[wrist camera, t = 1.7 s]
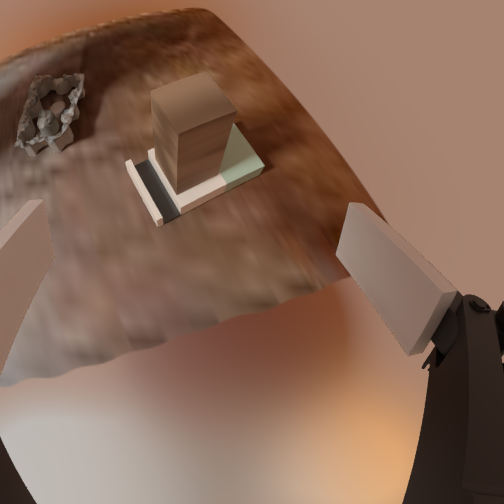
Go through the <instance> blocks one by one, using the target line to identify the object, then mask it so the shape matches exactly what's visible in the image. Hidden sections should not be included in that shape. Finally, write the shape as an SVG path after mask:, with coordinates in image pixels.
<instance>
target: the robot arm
mask: <svg viewBox="0 0 504 504" xmlns="http://www.w3.org/2000/svg"><path fill="white" fill-rule="evenodd" d="M336 256H337V257H338V259H339V260H340V261H341V263H342V264H343V265H344V267H345V268H346V269H347V271H348V272H349V273H350V275H351V276H352V277H353V279H354V280H355V282H356V283H357V284H358V286H359V287H360V288H361V290H362V291H363V292H364V294H365V295H366V296H367V298H368V299H369V301H370V302H371V304H372V305H373V306H374V308H375V309H376V310H377V312H378V313H379V315H380V316H381V318H382V319H383V320H384V322H385V323H386V325H387V326H388V328H389V329H390V331H391V332H392V334H393V335H394V336H395V338H396V339H397V341H398V342H399V344H400V345H401V347H402V348H403V350H404V351H405V353H406V354H407V356H411V355H415V354H418V353H422V352H423V351H424V350H425V348H426V347H427V345H428V343H429V342H430V340H432V342H433V343H434V344H435V347H434V348H433V350H432V352H431V353H430V355H429V356H428V358H427V359H426V361H425V362H424V364H423V366H422V369H424V368H425V367H426V366H427V365H428V364H430V367H429V369H428V371H429V378H428V387H427V394H426V401H425V408H424V414H423V420H422V426H421V431H420V436H419V442H418V446H417V451H416V455H415V460H414V463H413V468H412V472H411V475H410V479H409V483H408V486H407V490H406V493H405V496H404V500H403V503H402V504H504V363H502V358H501V357H502V356H503V355H504V301H503V302H502V304H501V306H500V307H499V309H498V311H494V310H491V308H490V306H489V305H488V304H487V303H486V302H485V301H484V300H482V299H481V298H479V297H477V296H475V295H470V294H469V295H465V296H464V297H463V296H462V295H461V294H460V293H459V291H457V289H456V288H455V287H454V286H453V285H452V284H451V283H450V282H449V281H448V280H447V279H446V278H445V277H444V276H443V275H442V274H441V273H440V272H439V271H438V270H437V269H436V268H435V267H434V266H433V265H432V264H431V263H430V262H429V261H427V260H426V259H425V258H424V257H423V256H422V255H421V254H420V253H419V252H418V251H417V250H416V249H415V248H414V247H413V246H411V245H410V244H409V243H408V242H407V241H406V240H405V239H404V238H403V237H401V235H399V234H398V233H397V232H396V231H395V230H394V229H393V228H392V227H390V226H389V225H388V224H387V223H386V222H385V221H384V220H382V219H381V218H380V217H379V216H378V215H377V214H375V213H374V212H373V211H372V210H371V209H370V208H368V207H367V206H366V205H365V204H364V203H353V202H349V205H348V209H347V213H346V217H345V221H344V225H343V229H342V233H341V237H340V240H339V244H338V248H337V251H336ZM54 258H55V254H54V250H53V245H52V240H51V236H50V230H49V225H48V219H47V214H46V207H45V201H44V199H38V200H29V201H28V202H27V203H26V204H25V205H24V206H23V207H22V208H21V209H20V210H19V211H18V212H17V213H16V214H15V215H14V216H13V217H12V218H11V219H10V221H9V222H8V223H7V224H6V225H5V226H4V227H3V228H2V229H1V230H0V374H1V373H2V370H3V368H4V365H5V362H6V360H7V357H8V354H9V352H10V349H11V347H12V344H13V342H14V339H15V337H16V335H17V332H18V330H19V328H20V325H21V323H22V321H23V319H24V316H25V314H26V312H27V310H28V308H29V306H30V304H31V302H32V299H33V297H34V295H35V293H36V291H37V289H38V287H39V285H40V284H41V282H42V280H43V278H44V276H45V274H46V272H47V270H48V268H49V267H50V265H51V263H52V261H53V259H54ZM0 504H37V503H36V502H35V500H34V499H33V497H32V496H31V494H30V492H29V491H28V489H27V487H26V486H25V484H24V482H23V481H22V479H21V477H20V475H19V473H18V472H17V470H16V468H15V466H14V464H13V462H12V460H11V458H10V457H9V454H8V452H7V450H6V448H5V446H4V444H3V442H2V440H1V438H0Z"/></svg>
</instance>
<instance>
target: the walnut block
mask: <svg viewBox="0 0 504 504" xmlns="http://www.w3.org/2000/svg"><path fill="white" fill-rule="evenodd" d="M151 109H152V124H153V138H154V149H155V159H156V161H157V163H158V165H159V166H160V168H161V170H162V171H163V173H164V175H165V177H166V178H167V180H168V182H169V183H170V185H171V187H172V188H173V190H174V192H175V193H176V195H179V194H181V193H183V192H185V191H187V190H188V189H190V188H192V187H194V186H196V185H198V184H200V183H202V182H204V181H206V180H208V179H211V178H213V177H215V176H217V175H218V173H219V170H220V166H221V163H222V159H223V156H224V152H225V149H226V146H227V142H228V139H229V135H230V132H231V129H232V126H233V122H234V119H235V116H236V113H237V110H236V108H235V107H234V106H233V105H232V103H231V102H230V101H229V99H228V98H227V97H226V96H225V94H224V93H223V92H222V91H221V89H220V88H219V87H218V85H217V84H216V83H215V82H214V80H213V79H212V78H211V77H210V75H209V74H208V73H207V72H206V71H205V72H202V73H198V74H195V75H192V76H189V77H186V78H183V79H180V80H178V81H175V82H172V83H169V84H167V85H164V86H161V87H159V88H156V89H153V90H151Z"/></svg>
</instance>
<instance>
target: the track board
mask: <svg viewBox="0 0 504 504" xmlns="http://www.w3.org/2000/svg"><path fill="white" fill-rule="evenodd" d="M148 156H149V159H148V160H146V161H144V162H142V163H140V164H138V165H136V166H134V165H133V163H132V161H131V159H130V160H128V161H126V162H125V163H126V167H127V171H128V173H129V175H130V177H131V179H132V181H133V183H134V184H135V186H136V188H137V190H138V192H139V194H140V196H141V197H142V199H143V201H144V203H145V205H146V207H147V208H148V210H149V212H150V214H151V216H152V217H153V219H154V221H155V223H156V225H157V226H158V227H160V226H162V225H164V224H165V223H167V222H169V221H171V220H173V219H175V218H176V217H178V216H180V215H182V214H184V213H186V212H188V211H189V210H191V209H193V208H195V207H197V206H199V205H201V204H203V203H205V202H206V201H208V200H210V199H212V198H214V197H216V196H218V195H220V194H222V193H224V192H226V191H228V190H230V189H232V188H234V187H236V186H238V185H240V184H242V183H244V182H246V181H248V180H250V179H252V178H254V177H256V176H258V175H260V173H261V172H262V170H263V168H264V166H265V165H264V164H263V163H262V161H261V160H260V158H259V157H258V156H257V154H256V153H255V151H254V150H253V148H252V147H251V146H250V144H249V143H248V142H247V140H246V139H245V137H244V136H243V135H242V133H241V132H240V131H239V129H238V128H237V126H236V125H235V124H234V122H233V126H232V129H231V132H230V135H229V139H228V142H227V146H226V149H225V152H224V156H223V159H222V163H221V166H220V170H219V173H218V175H217V176H215V177H213V178H211V179H208V180H206V181H204V182H202V183H200V184H198V185H196V186H194V187H192V188H190V189H188V190H187V191H185V192H183V193H181V194H179V195H176V193H175V192H174V190H173V188H172V187H171V185H170V183H169V182H168V180H167V178H166V177H165V175H164V173H163V171H162V170H161V168H160V166H159V165H158V163H157V161H156V159H155V149H154V148H153V149H151V150H149V151H148Z"/></svg>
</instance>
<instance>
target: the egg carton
mask: <svg viewBox="0 0 504 504" xmlns="http://www.w3.org/2000/svg"><path fill="white" fill-rule="evenodd" d="M83 82H84V73H83V74H78V73H74V75H67V74H64V75H63V78H59V79H55V77H53V76H52V75H44V76H38V74H36V75H35V77H34V79H33V80H32V83H31V85H30V87H29V91H28V99H27V101H26V103H25V104H24V110H23V113H22V116H21V118H20V120H19V125H18V133H17V141H16V142H15V146H18V147H19V148H25V150H26V151H27V153H28V154H29V156H34V155H37V152H38V151H39V150H40V149H41V148H42V147H43V146H46V145H49V146H50V147H51V149H52V151H53V153H60V152H61V151H62V149H63V148H64V147H65V146H66V145H67V144H69V143H72V142H73V138H74V135H73V133H72V131H71V128H70V127H69V124H70V123H71V122H72V121H74V120H76V119H78V117H79V110H78V107H77V104H76V103H77V100H79V99H81V98H84V96H85V89H84V86H83ZM72 87H77V88H76V89H74V90H72V92H71V93H70V96H68V98H69V99H70V102H71V105H70V108H69V109H65V110H64V108H65V102H63V101H57V102H55V103H54V104H53V105H52V106H51V107H50V110H45V109H43V107H42V105H41V102H40V99H41V98H43V97H44V96H46V95H47V94H48V93H49V91H51V90H56V93H57V94H58V95H63V94H66V93H67V92H69V91H70V90H71V88H72ZM63 110H64V114H61V121H62V122H63V124H64V125H63V126H62V130H63V131H62V134H61V135H60V136H54V135H55V134H56V133H57V132H58V131H59V123H58V121H57V119H56V117H55V115H57V114H59V113H61V112H62V111H63ZM37 116H39V117H38V122H37V126H38V128H39V129H40V131H41V133H42V134H37V137H36V138H35V137H34V138H32V137H33V136H34V134H35V132H36V128H35V126H34V124H33V122H32V120H33V119H34V118H36V117H37ZM31 138H32V140H31V141H28V140H30V139H31ZM25 143H26V146H25Z"/></svg>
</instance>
